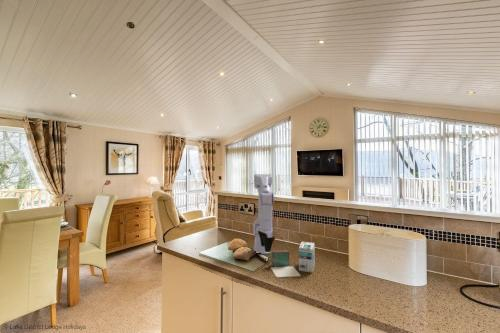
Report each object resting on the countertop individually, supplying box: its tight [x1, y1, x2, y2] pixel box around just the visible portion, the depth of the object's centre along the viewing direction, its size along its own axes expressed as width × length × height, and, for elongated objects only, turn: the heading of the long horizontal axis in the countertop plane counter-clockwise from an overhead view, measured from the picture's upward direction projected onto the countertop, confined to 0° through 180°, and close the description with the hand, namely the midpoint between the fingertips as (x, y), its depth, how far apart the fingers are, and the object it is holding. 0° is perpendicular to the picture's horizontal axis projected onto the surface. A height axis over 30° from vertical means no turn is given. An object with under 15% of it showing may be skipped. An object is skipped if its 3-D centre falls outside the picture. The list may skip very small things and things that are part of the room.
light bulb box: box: [298, 241, 316, 273], centre depth 115 cm, size 11×7×11 cm, turn 161°
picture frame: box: [271, 249, 290, 267], centre depth 117 cm, size 3×8×7 cm, turn 100°
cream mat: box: [270, 265, 301, 278], centre depth 110 cm, size 10×11×1 cm
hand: (265, 248), depth 110 cm, fingers open, 7 cm apart
